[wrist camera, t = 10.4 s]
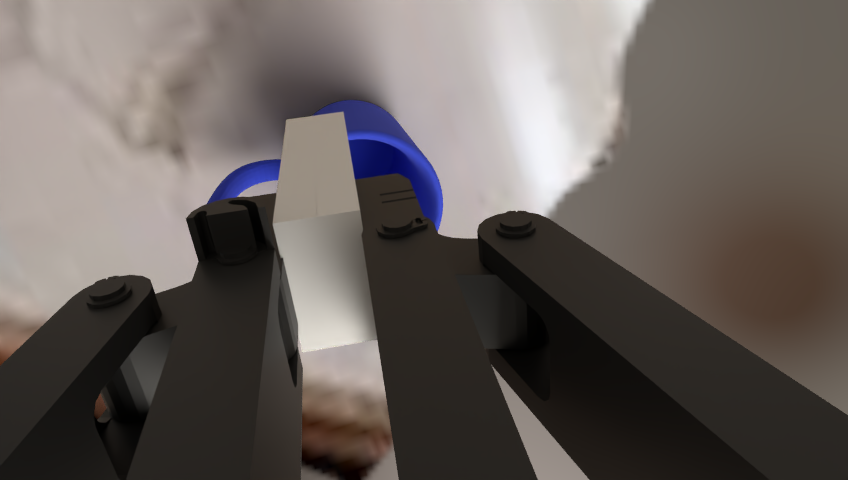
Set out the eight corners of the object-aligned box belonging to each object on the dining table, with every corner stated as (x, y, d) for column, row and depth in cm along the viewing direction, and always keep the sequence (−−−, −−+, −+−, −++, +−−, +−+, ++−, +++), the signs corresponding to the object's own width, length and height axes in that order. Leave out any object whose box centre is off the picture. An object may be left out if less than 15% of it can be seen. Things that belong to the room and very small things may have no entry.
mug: (208, 101, 38) (175, 155, 29) (408, 76, 39) (436, 120, 30) (238, 225, 41) (218, 306, 32) (420, 198, 42) (449, 270, 34)
